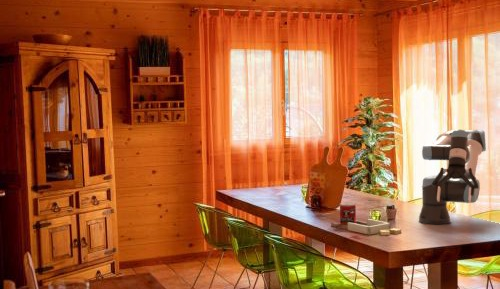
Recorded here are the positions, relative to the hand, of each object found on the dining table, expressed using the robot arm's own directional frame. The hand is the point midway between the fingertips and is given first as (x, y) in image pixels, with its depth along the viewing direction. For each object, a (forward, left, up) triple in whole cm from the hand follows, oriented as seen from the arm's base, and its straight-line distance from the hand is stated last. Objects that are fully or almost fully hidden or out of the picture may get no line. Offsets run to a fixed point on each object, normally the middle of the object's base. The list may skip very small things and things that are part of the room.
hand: (453, 201), depth 273 cm
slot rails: (-5, -50, -16) cm, 52 cm away
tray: (+2, -39, -16) cm, 42 cm away
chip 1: (+9, -29, -16) cm, 35 cm away
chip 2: (+4, -25, -16) cm, 30 cm away
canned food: (-5, -51, -16) cm, 54 cm away
